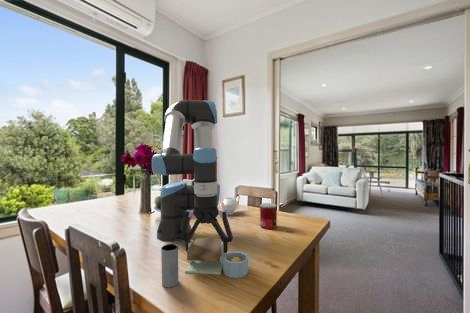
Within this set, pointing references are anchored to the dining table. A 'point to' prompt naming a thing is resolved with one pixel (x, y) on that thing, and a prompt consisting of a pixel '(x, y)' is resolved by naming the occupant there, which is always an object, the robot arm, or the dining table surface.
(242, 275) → the bowl
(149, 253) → the dining table surface
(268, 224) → the canned food
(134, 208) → the dining table surface
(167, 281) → the grey cylinder
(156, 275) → the dining table surface
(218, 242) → the cover
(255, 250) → the dining table surface
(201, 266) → the mat
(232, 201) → the teapot
